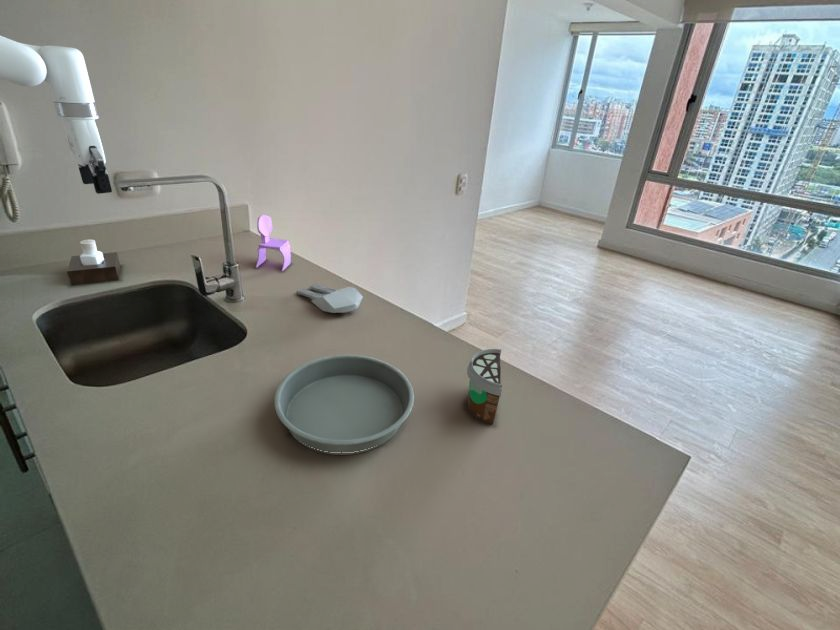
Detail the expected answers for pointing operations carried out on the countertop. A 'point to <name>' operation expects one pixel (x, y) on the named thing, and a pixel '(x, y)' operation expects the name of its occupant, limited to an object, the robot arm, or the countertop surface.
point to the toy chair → (271, 242)
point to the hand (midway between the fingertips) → (97, 187)
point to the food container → (484, 384)
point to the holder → (94, 270)
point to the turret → (334, 298)
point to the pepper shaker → (90, 253)
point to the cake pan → (344, 403)
